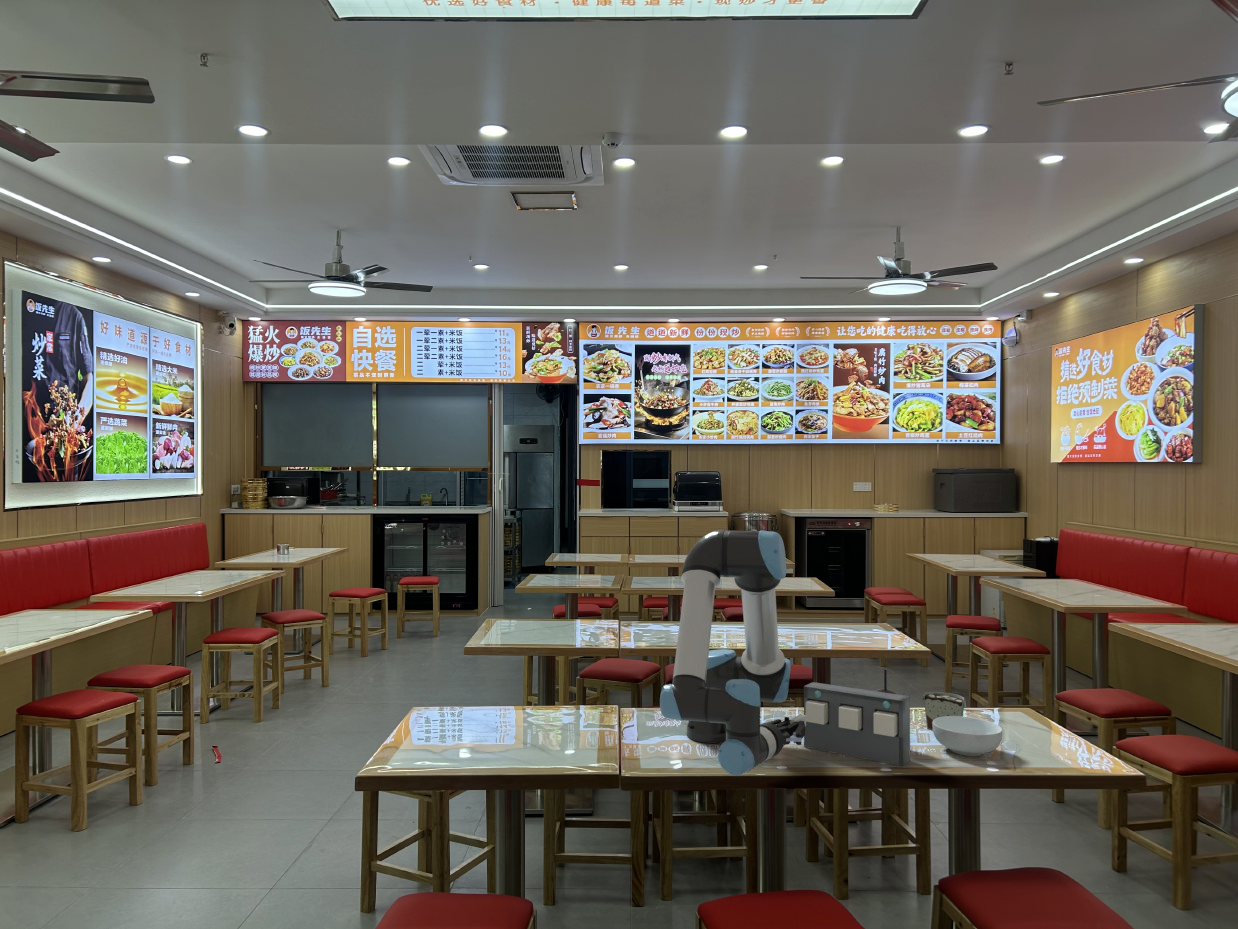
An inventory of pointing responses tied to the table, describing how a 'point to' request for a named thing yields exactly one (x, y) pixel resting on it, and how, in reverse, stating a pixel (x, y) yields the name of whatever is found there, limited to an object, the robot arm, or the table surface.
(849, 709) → the key middle
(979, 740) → the cereal bowl
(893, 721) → the key right
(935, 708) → the mint chip dessert
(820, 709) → the key left
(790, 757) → the table surface
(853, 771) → the table surface
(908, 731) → the keypad
